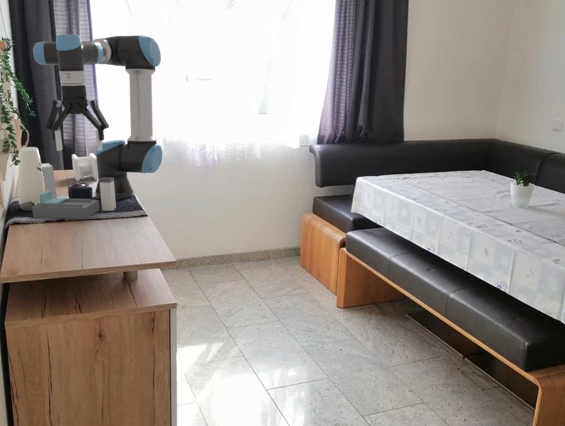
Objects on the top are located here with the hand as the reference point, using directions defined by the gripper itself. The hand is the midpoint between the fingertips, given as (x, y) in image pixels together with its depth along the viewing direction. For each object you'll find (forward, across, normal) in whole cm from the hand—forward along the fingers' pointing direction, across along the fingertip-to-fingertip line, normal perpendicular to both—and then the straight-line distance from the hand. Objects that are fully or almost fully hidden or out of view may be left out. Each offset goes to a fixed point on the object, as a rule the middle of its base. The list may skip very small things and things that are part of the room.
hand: (79, 150), depth 191 cm
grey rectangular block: (+27, -1, +24) cm, 36 cm away
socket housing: (+27, -15, +17) cm, 35 cm away
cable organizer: (+28, -33, +80) cm, 91 cm away
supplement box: (+27, -32, +34) cm, 54 cm away
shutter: (+22, -20, +17) cm, 34 cm away
